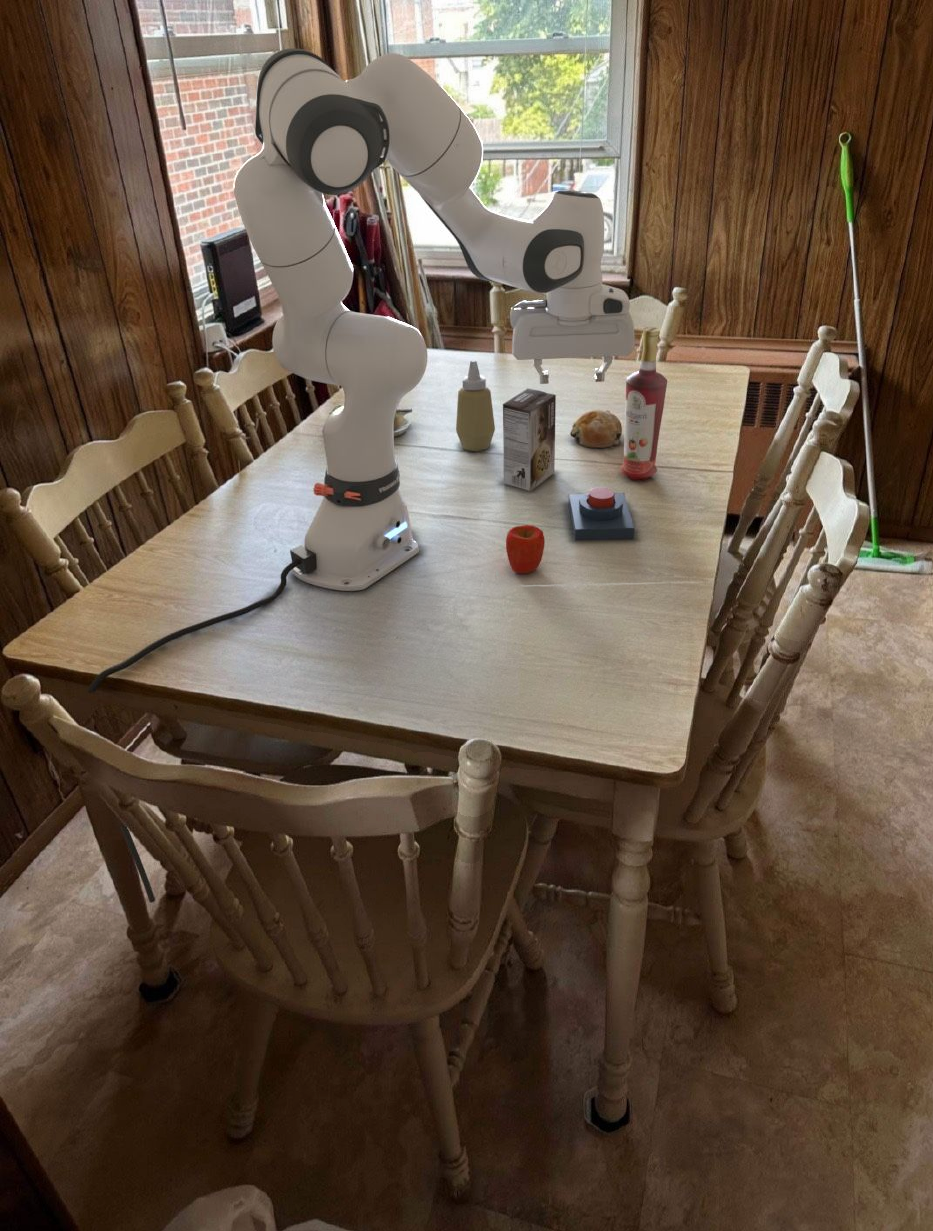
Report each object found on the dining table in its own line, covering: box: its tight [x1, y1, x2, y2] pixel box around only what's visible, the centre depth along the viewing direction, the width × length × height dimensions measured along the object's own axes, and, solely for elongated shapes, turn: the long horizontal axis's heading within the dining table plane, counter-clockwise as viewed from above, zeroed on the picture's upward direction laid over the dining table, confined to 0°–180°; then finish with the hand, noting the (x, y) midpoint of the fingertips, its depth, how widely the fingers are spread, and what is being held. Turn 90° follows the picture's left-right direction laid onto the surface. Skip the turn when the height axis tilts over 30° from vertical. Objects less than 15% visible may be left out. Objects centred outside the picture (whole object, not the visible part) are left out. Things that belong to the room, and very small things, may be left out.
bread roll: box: [570, 409, 623, 449], centre depth 182 cm, size 10×10×8 cm
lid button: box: [588, 486, 615, 508], centre depth 152 cm, size 4×4×2 cm
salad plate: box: [328, 405, 413, 438], centre depth 191 cm, size 19×18×5 cm
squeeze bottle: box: [455, 359, 496, 452], centre depth 178 cm, size 8×8×18 cm
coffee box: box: [502, 388, 557, 492], centre depth 165 cm, size 9×6×16 cm
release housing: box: [568, 492, 636, 541], centre depth 154 cm, size 13×10×4 cm
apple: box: [505, 524, 546, 575], centre depth 141 cm, size 6×6×8 cm
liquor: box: [620, 326, 668, 482], centre depth 161 cm, size 7×7×28 cm
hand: (571, 381), depth 150 cm, fingers open, 8 cm apart
